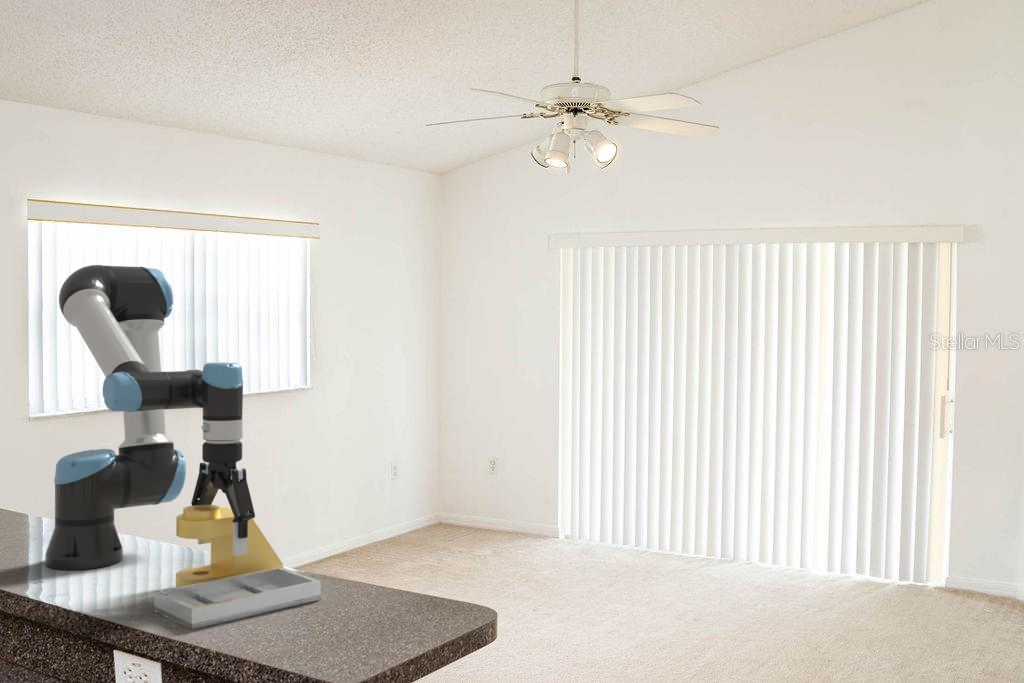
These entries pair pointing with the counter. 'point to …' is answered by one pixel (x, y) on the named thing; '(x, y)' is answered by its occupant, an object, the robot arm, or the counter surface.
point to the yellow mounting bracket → (222, 545)
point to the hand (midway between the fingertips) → (221, 549)
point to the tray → (236, 597)
